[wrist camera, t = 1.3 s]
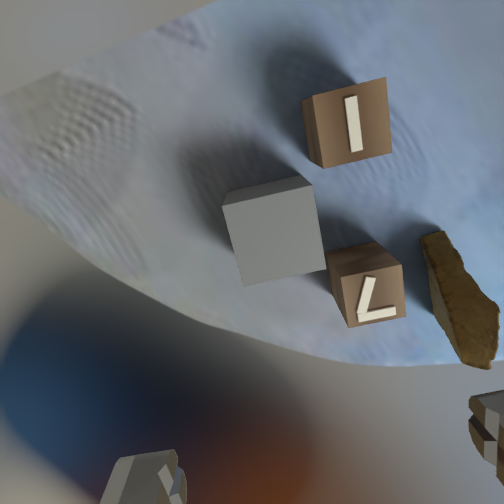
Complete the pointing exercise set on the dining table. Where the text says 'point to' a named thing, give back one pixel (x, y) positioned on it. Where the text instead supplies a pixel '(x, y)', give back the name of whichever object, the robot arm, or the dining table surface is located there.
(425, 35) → the dining table surface
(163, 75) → the dining table surface
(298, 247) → the grey block
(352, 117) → the walnut block one
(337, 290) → the walnut block seven
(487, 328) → the rock
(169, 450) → the robot arm
